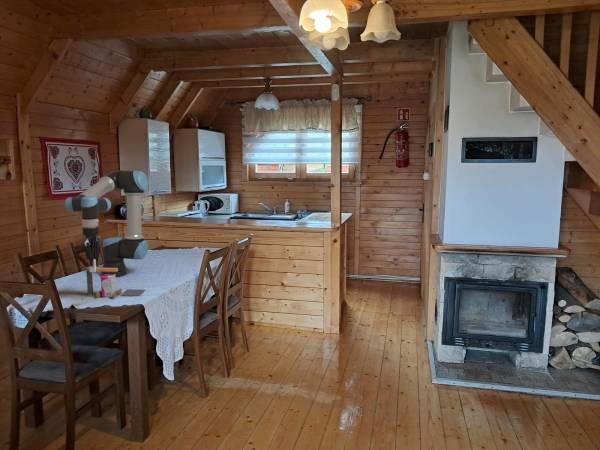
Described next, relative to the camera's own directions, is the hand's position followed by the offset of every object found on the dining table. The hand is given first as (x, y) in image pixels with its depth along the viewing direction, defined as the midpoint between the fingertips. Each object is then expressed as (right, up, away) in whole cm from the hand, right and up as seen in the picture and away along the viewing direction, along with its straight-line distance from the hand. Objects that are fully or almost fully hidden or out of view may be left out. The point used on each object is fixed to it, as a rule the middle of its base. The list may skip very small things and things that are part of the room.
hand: (92, 271), depth 233 cm
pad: (+16, -13, +14) cm, 25 cm away
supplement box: (+5, -14, +9) cm, 17 cm away
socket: (+2, -14, +9) cm, 16 cm away
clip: (+2, 0, +6) cm, 7 cm away
